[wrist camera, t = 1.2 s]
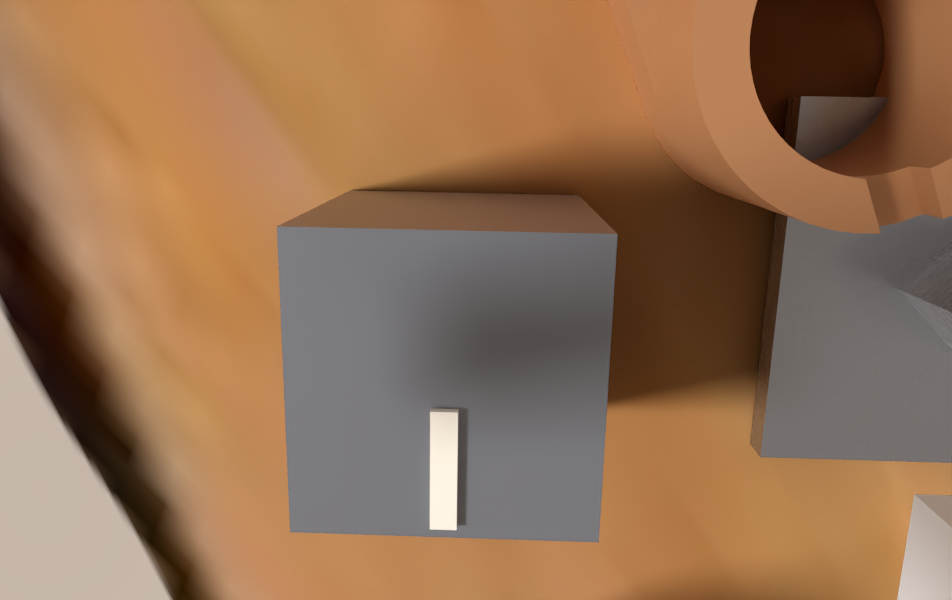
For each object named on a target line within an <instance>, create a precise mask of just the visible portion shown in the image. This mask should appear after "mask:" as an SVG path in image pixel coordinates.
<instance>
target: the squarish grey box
mask: <svg viewBox="0 0 952 600" xmlns="http://www.w3.org/2000/svg"><path fill="white" fill-rule="evenodd" d="M617 236H618V234H617V233H616V232H615V231H614V230H613V229H612V228H611V227H610V226H609V225H608V224H607V223H606V222H605V221H604V220H603V219H602V218H601V217H600V216H599V215H598V214H597V213H596V212H595V211H594V210H593V209H592V208H591V207H590V206H589V205H588V204H587V203H586V202H585V201H584V200H583V199H582V198H581V197H580V196H579V195H553V194H505V193H457V192H410V191H362V190H351V191H349V192H346V193H344V194H342V195H340V196H338V197H336V198H334V199H332V200H330V201H328V202H326V203H324V204H322V205H320V206H318V207H316V208H314V209H312V210H310V211H308V212H306V213H304V214H302V215H300V216H297V217H295V218H293V219H291V220H289V221H287V222H285V223H283V224H281V225H279V226H277V237H278V260H279V283H280V306H281V329H282V352H283V375H284V398H285V422H286V445H287V468H288V491H289V514H290V532H303V533H333V534H363V535H393V536H423V537H453V538H484V539H514V540H544V541H574V542H599V529H600V512H601V496H602V480H603V464H604V447H605V431H606V415H607V399H608V383H609V366H610V350H611V334H612V318H613V301H614V285H615V269H616V253H617Z"/></svg>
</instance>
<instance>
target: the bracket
mask: <svg viewBox="0 0 952 600" xmlns="http://www.w3.org/2000/svg"><path fill="white" fill-rule="evenodd" d="M607 1H608V4H609V7H610V10H611V13H612V16H613V19H614V22H615V25H616V28H617V31H618V34H619V37H620V40H621V43H622V46H623V49H624V52H625V55H626V58H627V61H628V64H629V67H630V70H631V73H632V76H633V79H634V82H635V85H636V88H637V91H638V94H639V97H640V100H641V103H642V106H643V110H644V113H645V115H646V118H647V121H648V123H649V125H650V127H651V129H652V132H653V134H654V135H655V137H656V139H657V140H658V142H659V144H660V145H661V147H662V148H663V149H664V151H665V152H666V153H667V155H668V156H669V157H670V158H671V159H672V161H673V162H674V163H675V164H676V165H677V166H678V167H679V168H680V169H681V170H683V171H684V172H685V173H686V174H688V175H689V176H690V177H691V178H693V179H694V180H696V181H697V182H699V183H700V184H702V185H704V186H706V187H708V188H710V189H712V190H714V191H716V192H718V193H721V194H724V195H726V196H729V197H732V198H735V199H738V200H741V201H744V202H747V203H750V204H753V205H756V206H759V207H762V208H765V209H767V210H770V211H773V212H776V213H779V214H782V215H785V216H788V217H791V218H794V219H797V220H800V221H803V222H806V223H809V224H812V225H815V226H818V227H822V228H826V229H830V230H835V231H842V232H849V233H867V234H880V233H881V232H880V229H879V227H880V226H885V225H890V224H895V223H899V222H902V221H905V220H908V219H911V218H913V217H916V216H919V215H922V214H925V215H929V216H934V217H938V218H942V219H944V218H947V217H949V216H952V0H873V1H874V2H875V4H876V7H877V10H878V12H879V15H880V19H881V22H882V27H883V34H884V60H883V66H882V72H881V75H880V79H879V82H878V85H877V87H876V90H875V92H874V95H873V97H881V98H889V99H888V101H887V103H886V105H885V106H884V108H883V109H882V111H881V112H880V114H879V115H878V116H877V118H876V119H875V120H874V121H873V123H872V124H871V125H870V126H869V127H868V128H867V129H866V130H865V131H864V132H863V133H862V134H861V135H859V136H858V137H857V138H856V139H855V140H853V141H852V142H851V143H849V144H848V145H846V146H845V147H843V148H841V149H840V150H838V151H836V152H834V153H832V154H830V155H827V156H825V157H823V158H819V159H816V160H813V161H809V160H807V159H806V158H804V157H803V156H801V155H800V154H798V153H797V152H796V151H795V150H794V149H792V148H791V147H790V146H789V145H788V144H787V143H786V142H785V141H784V140H783V139H782V138H781V137H780V135H779V134H778V133H777V131H776V130H775V129H774V127H773V126H772V125H771V123H770V122H769V120H768V118H767V116H766V114H765V113H764V111H763V109H762V106H761V104H760V102H759V99H758V97H757V93H756V90H755V87H754V83H753V78H752V73H751V67H750V53H749V50H750V32H751V25H752V19H753V15H754V11H755V6H756V3H757V0H607Z"/></svg>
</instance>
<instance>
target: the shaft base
mask: <svg viewBox="0 0 952 600" xmlns="http://www.w3.org/2000/svg"><path fill="white" fill-rule="evenodd" d="M888 99H889V98H881V97H823V96H796V97H788V104H787V114H786V123H785V132H784V141H785V142H786V143H787V144H788V145H789V146H790V147H791V148H792V149H794V150H795V151H796V152H797V153H798V154H800V155H801V156H803V157H804V158H806V159H807V160H809V161H813V160H816V159H819V158H823V157H825V156H827V155H830V154H832V153H834V152H836V151H838V150H840V149H841V148H843V147H845V146H846V145H848V144H849V143H851V142H852V141H853V140H855V139H856V138H857V137H858V136H859V135H861V134H862V133H863V132H864V131H865V130H866V129H867V128H868V127H869V126H870V125H871V124H872V123H873V121H874V120H875V119H876V118H877V116H878V115H879V114H880V112H881V111H882V109H883V108H884V106H885V105H886V103H887V101H888ZM879 229H880V232H881V233H880V234H867V233H849V232H842V231H835V230H830V229H826V228H822V227H818V226H815V225H812V224H809V223H806V222H803V221H800V220H797V219H794V218H791V217H788V216H785V215H782V214H779V213H776V214H775V223H774V232H773V241H772V250H771V260H770V269H769V278H768V287H767V296H766V305H765V314H764V323H763V333H762V342H761V351H760V360H759V369H758V378H757V387H756V396H755V406H754V415H753V424H752V433H751V442H750V444H751V445H752V447H753V448H754V449H755V451H756V452H757V453H758V455H759V456H760V457H776V458H809V459H842V460H876V461H909V462H942V463H952V216H949V217H947V218H944V219H942V218H938V217H934V216H929V215H925V214H922V215H919V216H916V217H913V218H911V219H908V220H905V221H902V222H899V223H895V224H890V225H885V226H880V227H879Z"/></svg>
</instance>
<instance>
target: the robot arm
mask: <svg viewBox="0 0 952 600" xmlns="http://www.w3.org/2000/svg"><path fill="white" fill-rule="evenodd" d="M897 600H952V495H920V494H914V500H913V506H912V512H911V519H910V525H909V531H908V537H907V543H906V549H905V556H904V562H903V568H902V574H901V580H900V586H899V593H898V599H897Z"/></svg>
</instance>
